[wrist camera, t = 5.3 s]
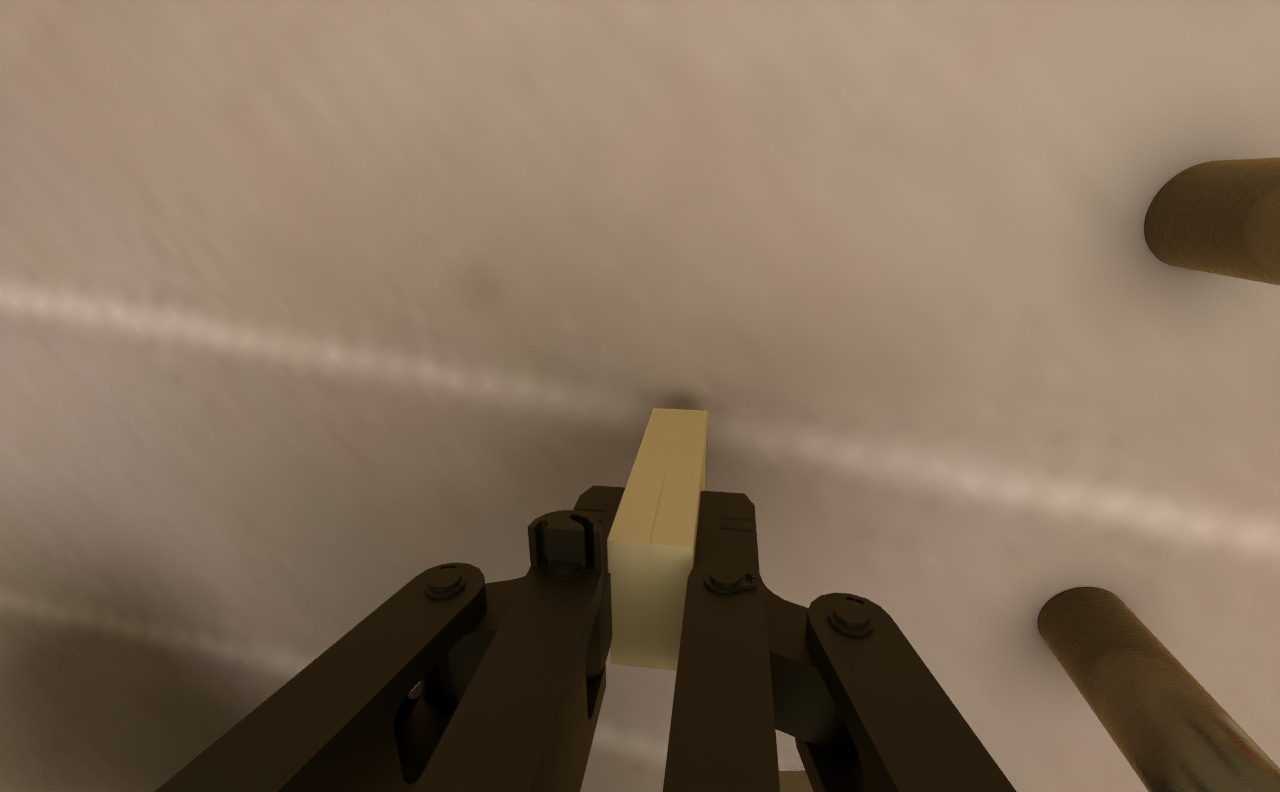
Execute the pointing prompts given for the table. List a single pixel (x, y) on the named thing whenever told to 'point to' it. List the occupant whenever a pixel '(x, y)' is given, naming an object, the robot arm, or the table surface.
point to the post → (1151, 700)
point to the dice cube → (794, 781)
